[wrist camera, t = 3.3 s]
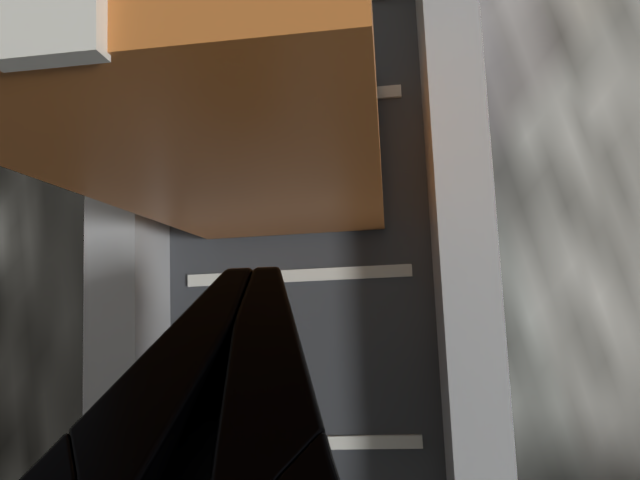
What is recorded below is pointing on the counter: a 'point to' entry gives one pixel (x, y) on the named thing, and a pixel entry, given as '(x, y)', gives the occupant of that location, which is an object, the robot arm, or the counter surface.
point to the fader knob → (198, 110)
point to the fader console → (361, 274)
